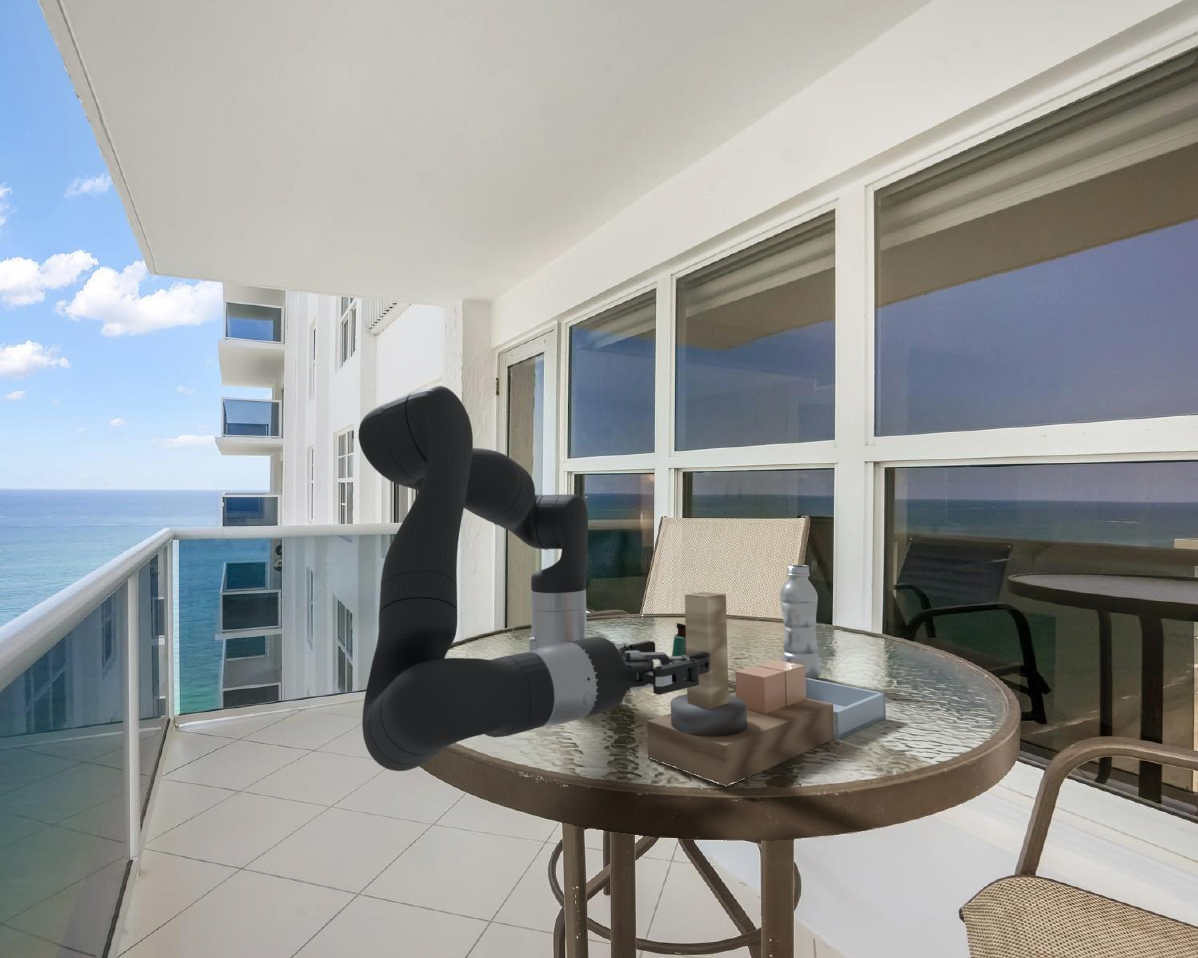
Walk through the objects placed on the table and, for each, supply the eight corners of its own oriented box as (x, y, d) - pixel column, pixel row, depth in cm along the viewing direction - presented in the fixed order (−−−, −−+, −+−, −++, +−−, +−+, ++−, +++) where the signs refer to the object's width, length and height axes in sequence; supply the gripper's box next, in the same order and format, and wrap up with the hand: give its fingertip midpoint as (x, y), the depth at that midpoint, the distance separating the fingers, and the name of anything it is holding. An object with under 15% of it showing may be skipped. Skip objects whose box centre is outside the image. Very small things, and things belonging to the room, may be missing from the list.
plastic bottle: (824, 684, 114) (820, 567, 115) (783, 682, 116) (779, 567, 117) (819, 674, 121) (815, 564, 122) (780, 673, 122) (777, 564, 123)
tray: (838, 739, 87) (837, 712, 87) (755, 717, 96) (755, 693, 97) (885, 718, 95) (884, 693, 95) (805, 699, 105) (804, 677, 105)
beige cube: (787, 705, 87) (785, 670, 87) (758, 698, 90) (757, 665, 90) (805, 699, 90) (804, 665, 90) (777, 692, 93) (776, 660, 93)
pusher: (714, 742, 74) (710, 601, 74) (655, 723, 80) (652, 594, 81) (762, 724, 79) (758, 593, 80) (703, 708, 86) (700, 588, 87)
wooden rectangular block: (726, 787, 72) (725, 745, 72) (647, 758, 81) (647, 720, 81) (834, 739, 87) (833, 704, 87) (757, 718, 96) (756, 686, 96)
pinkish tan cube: (765, 713, 84) (764, 677, 84) (736, 706, 87) (735, 671, 87) (785, 706, 87) (784, 671, 87) (756, 699, 90) (755, 665, 90)
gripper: (616, 653, 61) (727, 630, 72) (528, 633, 72) (636, 615, 83) (618, 735, 61) (729, 700, 72) (529, 703, 72) (637, 676, 82)
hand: (679, 655), depth 77 cm, fingers open, 8 cm apart
